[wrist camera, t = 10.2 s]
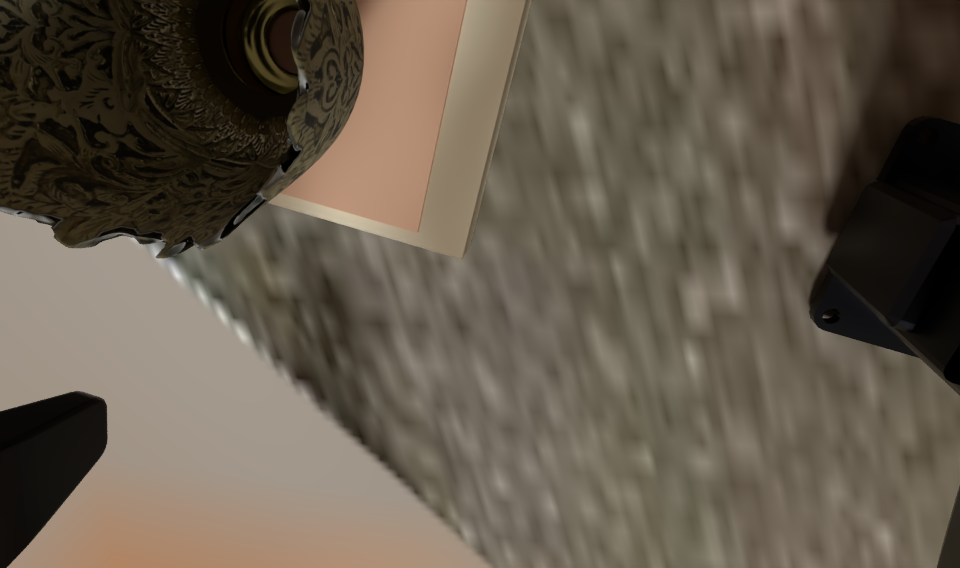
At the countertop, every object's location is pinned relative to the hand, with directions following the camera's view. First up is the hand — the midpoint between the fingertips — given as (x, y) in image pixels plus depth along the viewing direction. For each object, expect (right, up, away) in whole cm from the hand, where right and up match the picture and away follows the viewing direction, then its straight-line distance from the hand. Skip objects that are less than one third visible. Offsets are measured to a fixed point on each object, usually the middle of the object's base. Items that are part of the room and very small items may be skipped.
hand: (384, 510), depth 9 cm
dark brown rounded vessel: (-4, +10, +8) cm, 13 cm away
